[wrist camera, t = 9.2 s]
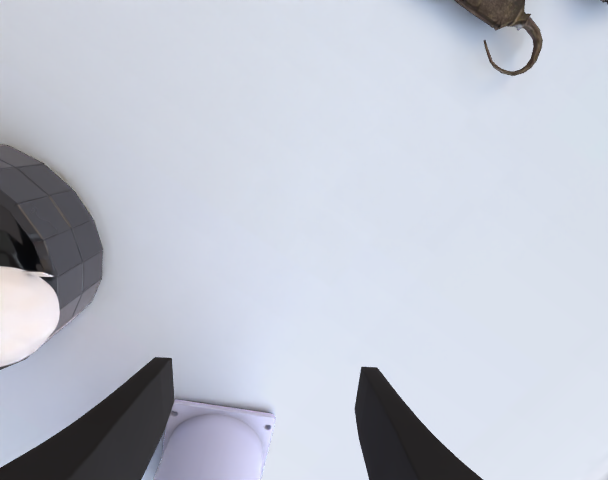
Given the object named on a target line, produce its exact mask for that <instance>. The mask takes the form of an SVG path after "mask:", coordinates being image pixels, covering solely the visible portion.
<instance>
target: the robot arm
mask: <svg viewBox="0 0 608 480" xmlns="http://www.w3.org/2000/svg"><path fill="white" fill-rule="evenodd" d="M174 411H176V412H174ZM355 415H356V422H357V429H358V436H359V440H360V445H361V449H362V453H363V457H364V461H365V464H366V468H367V472H368V476H369V480H483V479H482V478H480V477H479V476H478V475H477V474H476V473H474V472H473V471H472V470H471V469H470V468H468V467H467V466H466V465H465V464H464V463H463V462H461V461H460V460H459V459H458V458H457V457H456V456H455V455H454V454H453V453H452V452H451V451H450V450H448V449H447V448H446V447H445V446H444V445H443V444H442V443H441V442H440V441H439V440H438V439H437V438H436V437H435V436H434V435H433V434H432V433H431V432H430V431H429V430H428V429H427V428H426V426H425V425H424V424H423V423H422V422H421V421H420V420H419V419H418V418H417V417H416V415H415V414H414V413H413V412H412V411H411V409H410V408H409V407H408V406H407V405H406V404H405V402H404V401H403V400H402V399H401V397H400V396H399V395H398V394H397V392H396V391H395V390H394V389H393V387H392V386H391V385H390V383H389V382H388V381H387V380H386V378H385V377H384V376H383V374H382V373H381V372H380V371H379V369H378V368H375V367H361V373H360V379H359V385H358V391H357V398H356V404H355ZM275 420H276V417H275V415H273V414H271V413H265V412H258V411H251V410H245V409H238V408H231V407H225V406H218V405H211V404H205V403H198V402H191V401H184V400H178V399H174V388H173V371H172V358H160V357H155V358H154V359H153V360H151V361H150V362H149V363H148V364H146V365H145V366H144V367H143V368H142V369H141V370H139V371H138V372H137V373H136V374H135V375H133V376H132V377H131V378H130V379H129V380H128V381H126V382H125V383H124V384H123V385H122V386H120V387H119V388H118V389H117V390H115V391H114V392H113V393H112V394H111V395H109V396H108V397H107V398H106V399H104V400H103V401H102V402H100V403H99V404H98V405H96V406H95V407H94V408H92V409H91V410H90V411H88V412H87V413H86V414H85V415H83V416H82V417H81V418H79V419H78V420H76V421H75V422H74V423H72V424H71V425H69V426H68V427H66V428H65V429H63V430H62V431H60V432H59V433H57V434H56V435H54V436H53V437H51V438H50V439H48V440H47V441H45V442H43V443H42V444H40V445H39V446H37V447H35V448H33V449H32V450H30V451H28V452H27V453H25V454H23V455H22V456H20V457H18V458H16V459H15V460H13V461H11V462H10V463H8V464H6V465H4V466H3V467H1V468H0V480H141V479H142V477H143V475H144V472H145V470H146V468H147V466H148V464H149V462H150V460H151V458H152V456H153V454H154V452H155V449H156V447H157V445H158V443H159V441H160V439H161V437H162V434H163V432H164V430H165V436H164V445H163V454H162V459H161V461H160V464H159V466H158V469H157V471H156V474H155V476H154V478H153V480H261V478H262V474H263V470H264V466H265V462H266V458H267V454H268V450H269V446H270V442H271V438H272V434H273V430H274V426H275Z"/></svg>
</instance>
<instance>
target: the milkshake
mask: <svg viewBox="0 0 608 480" xmlns="http://www.w3.org/2000/svg"><path fill="white" fill-rule="evenodd" d="M44 277H53V275H50V274H47V273H45V272H39V270H38V269H37V267H36V265H35V264H34V262H33V261H32V259H31V257H30V256H29V254H28V253H27V251H26V250H25V248H24V246H23V245H22V244H21V243H20V242H19V241H18V240H17V239H15V238H14V237H13V236H12V235H10V234H9V233H8V232H7V231H3V230H0V367H2V366H6V365H9V364H12V363H15V362H18V361H20V360H22V359H24V358H26V357H27V356H29V355H31V354H32V353H33V352H35V351H36V350H37V349H38V348H39V347H40V346H41V345H42V344H43V343H44V342H45V341H46V340H47V339H48V338H49V336H50V335H51V334H52V333H53V331H54V330H55V328H56V327H57V324H58V321H59V315H60V310H59V301H58V298H57V295H56V293H55V291H54V290H53V288H52V287H51V286H50V285H49V284H48V282H47V281H46V280H45V278H44Z"/></svg>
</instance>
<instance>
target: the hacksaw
mask: <svg viewBox="0 0 608 480" xmlns="http://www.w3.org/2000/svg"><path fill="white" fill-rule="evenodd" d="M455 1H456V2H457V3H459V4H460V5H461V6H462V7H464V8H465V9H466V10H468V11H469V12H471V13H472V14H473V15H475V16H476V17H478V18H479V19H481V20H482V21H484V22H485V23H487V24H488V25H490V26H491V27H493V28H494V29H495V30H498V29H500V28H503V27H506V26H514V27H516V28H517V30H520V29H521V28H524V29H525V30H526V31H527V32H528V34H529V35H530V36H531V37H532V39H533V45H534V47H533V52H532V56H531V59H530V60H529V62H528V63H527V65H526V66H525V67H523V68H522V69H521V70H517V71H514V72H511V71H507V70H504V69H501V68H500V67H498V66H497V65H496V64H495V63H494V62H493V61H492V58H491V55H490V53H489V50H488V47H487V44H486V41H485V40H484V44H485V48H486V52H487V55H488V58H489V61H490V63H491V64H492V66H493V67H494V68H495V69H496V70H498V71H499V72H501V73H503V74H507V75H511V76H515V75H518V74H521V73H524V72H526V71H527V70H529V69H530V68H531V67H532V66H533V65H534V63H535V62H536V61H537V59H538V56H539V53H540V51H541V48H542V41H543V40H542V36H541V33H540V29H539V28H538V26H537V25H536V24H535V22H534V21H533V20H532V19H531V18H530V17H529V16H530V15H531V14H526V13H525V12H524V6H525V0H455ZM601 1H602V2H607V4H608V0H601Z"/></svg>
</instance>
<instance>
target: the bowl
mask: <svg viewBox="0 0 608 480" xmlns="http://www.w3.org/2000/svg"><path fill="white" fill-rule="evenodd" d="M92 219H93V218H92V217H91V215H90V214H89V212H88V211H87V209H86V208H85V206H84V205H83V203H82V202H81V200H80V199H79V197H78V196H77V194H76V193H75V191H74V190H73V189H72V188H71V187H70V186H69V185H67V184H66V183H65V182H64V181H63V180H62V179H61V178H60V177H58V176H57V175H56V174H55V173H54V172H53V171H52V170H50V169H49V168H48V167H47V166H46V165H44V163H42V162H40V161H38V160H36V159H34V158H32V157H30V156H28V155H26V154H24V153H22V152H20V151H18V150H16V149H15V148H13V147H11V146H8V145H3V144H0V230H3V231H7V232H8V233H9V234H10V235H12V236H13V237H14V238H15V239H17V240H18V241H19V242H20V243H21V244H22V245H23V246H24V248H25V250H26V251H27V253H28V254H29V256H30V257H31V259H32V261H33V262H34V264H35V265H36V267H37V269H38V270H39V272H45V273H47V274H50V275H53V277H44V278H45V280H46V281H47V282H48V284H49V285H50V286H51V287H52V288H53V290H54V291H55V293H56V295H57V298H58V301H59V310H60V315H59V321H58V324H57V327H56V328H55V330H54V331H53V333H52V334H51V335H50V336H49V338H48V339H47V340H46V341H45V342H44V343H43V344H45V343H46V342H47V341H48V340H49V339H51V338H52V337H53V336H54V335H55V334H57V333H58V332H59V331H60V330H61V329H63V328H64V327H65V326H66V325H67V324H69V323H70V322H71V321H72V320H73V319H75V318H76V317H77V316H78V315H79V314H80V313H81V312H82V311H83V310H84V309H85V308H86V307H87V306H88V305H89V304H90V303H91V302H92V300H93V298H94V296H95V293H96V291H97V289H98V286H99V284H100V282H101V280H102V259H103V248H102V245H101V241H100V238H99V235H98V232H97V229H96V225H95V222H94V220H92ZM43 344H42V345H43ZM42 345H41V346H42ZM41 346H40V347H41ZM40 347H39V348H40ZM39 348H38V349H39ZM33 353H34V352H33ZM33 353H32V354H33ZM29 356H30V355H29ZM29 356H27V357H26V358H28V357H29ZM26 358H24V359H22V360H20V361H23V360H25V359H26ZM20 361H18V362H20ZM18 362H15V363H18ZM15 363H12V364H9V365H6V366H2V367H0V370H1V369H4V368H6V367H8V366H11V365H13V364H15Z"/></svg>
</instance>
